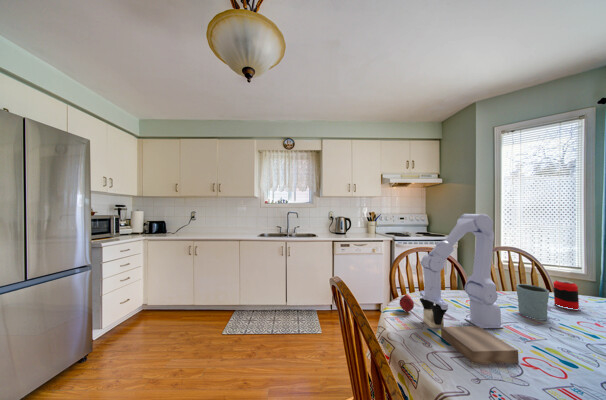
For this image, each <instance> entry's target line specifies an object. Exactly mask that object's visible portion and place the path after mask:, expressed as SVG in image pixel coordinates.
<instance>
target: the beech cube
mask: <svg viewBox="0 0 606 400" xmlns="http://www.w3.org/2000/svg"><path fill="white" fill-rule="evenodd" d="M422 311H423V315H422V316H423V317H422V319H423V322H424V323H425V324H426V325H427V326H428V327H430V328H432V329H435V328H437V329H439V328H440V329H441V327H445V325H444V317H443V319H442V323H441V325H436V324H435V322H434V316H433V311H432V309H424V308H422Z"/></svg>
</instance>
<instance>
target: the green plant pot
mask: <svg viewBox="0 0 606 400" xmlns="http://www.w3.org/2000/svg"><path fill="white" fill-rule="evenodd" d="M515 286H516V287H515V288H516V295H517V302H518V313H519V314H520V313H521V314H523V315H525V316H524V317H526V316H528V317H527V318H529V317H531V318H530V319H532V318H535V319H534V320H537V319H546V320H547V319H548V313H549V312H548V307H549V305H548V303H549V296H550V290H548V289H546V288H544V287H541V286H537V285H532V284H525V283H517V284H515ZM521 314H520V315H521ZM523 315H522V316H523Z"/></svg>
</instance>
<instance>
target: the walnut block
mask: <svg viewBox="0 0 606 400" xmlns="http://www.w3.org/2000/svg"><path fill="white" fill-rule="evenodd" d="M440 335H441V339H443V340H444V341H445V342H446V343H448V344H449V345H450V346H452V347H453V348H454V349H455V350H456V351H457V352H458V353H460V354H461V355H463V357H465V358H466V359H467V360H468V359H469V360H470V361H469V360H468V361H469V362H471V363H472V362H473V363H480V364H481V363H482V364H481V365H484V364H517V363H520V361H519V350H518V348H515V347H514V346H512V345H510V344H509V343H507V342H505V341H504V340H502V339H501V338H499V337H497V336H496V335H494V334H492V333H491V332H488V331H487V330H485V328H481V327H479V326H476V325H471V326H469V325H468V326H444V327H441V328H440ZM473 363H472V364H473Z"/></svg>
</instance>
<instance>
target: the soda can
mask: <svg viewBox="0 0 606 400" xmlns="http://www.w3.org/2000/svg"><path fill="white" fill-rule="evenodd" d="M552 285H553V299H554V300H553V302H554V305H555V304H557V305H560V306H563V307H568V308H573V309H578V308H579V309H580V301H579V288H578V287H579V286H578V285H577V284H576V283H575V282H573V281H570V280H565V279H556V280H555V281H554V282H553V283H552Z"/></svg>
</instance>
